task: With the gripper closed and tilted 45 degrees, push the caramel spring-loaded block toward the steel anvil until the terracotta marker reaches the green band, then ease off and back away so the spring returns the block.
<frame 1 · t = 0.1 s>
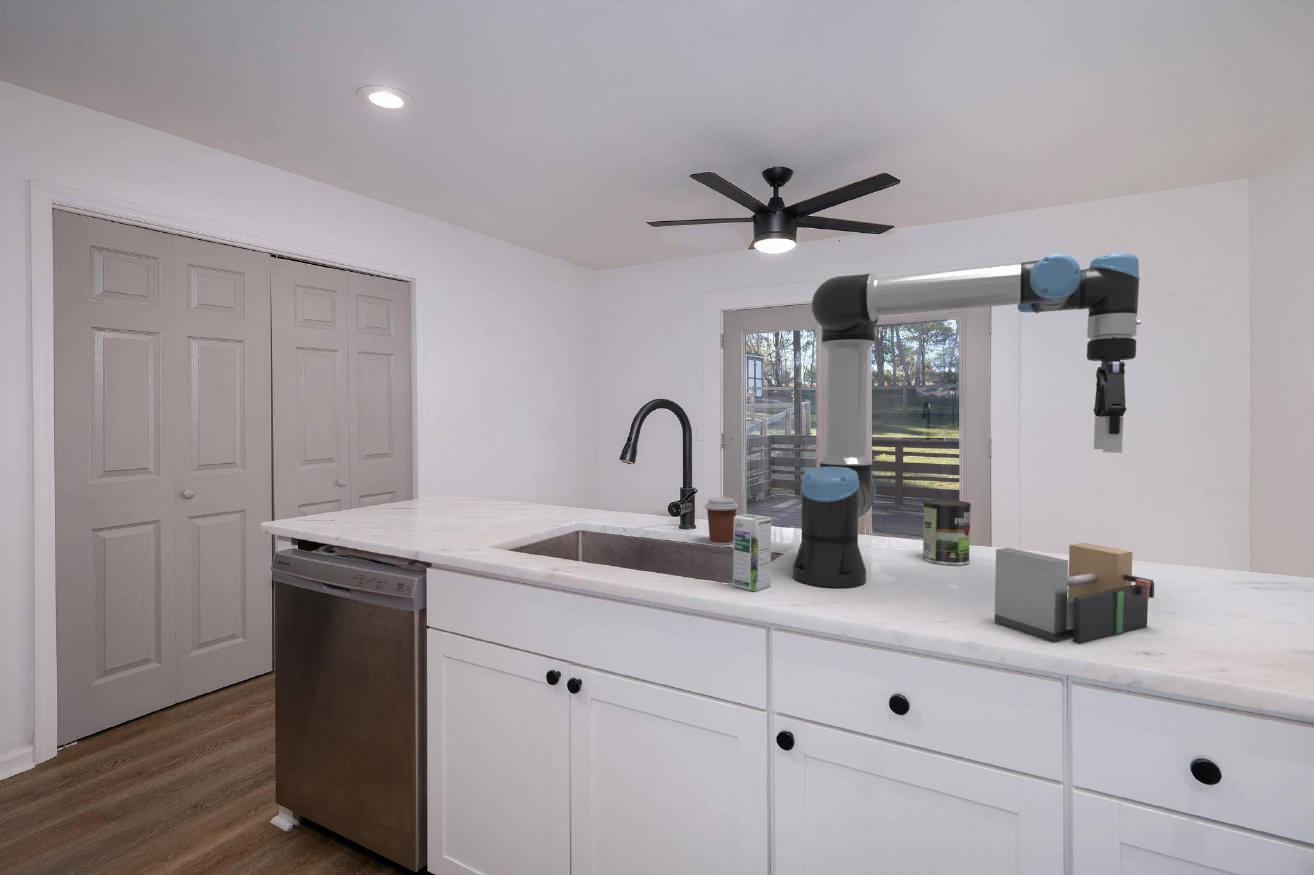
hand: (1106, 451, 118), 28 cm above the worktop, tool pointing down, fingers open, 13 cm apart
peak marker: (1142, 588, 101), point 7 cm above the worktop, slide at 0.0 cm
syrup box: (751, 587, 127), on the worktop
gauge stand: (1065, 622, 105), on the worktop
coffee can: (945, 561, 149), on the worktop
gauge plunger: (1101, 581, 105), point 7 cm above the worktop, slide at 0.0 cm
coffee cup: (721, 543, 170), on the worktop
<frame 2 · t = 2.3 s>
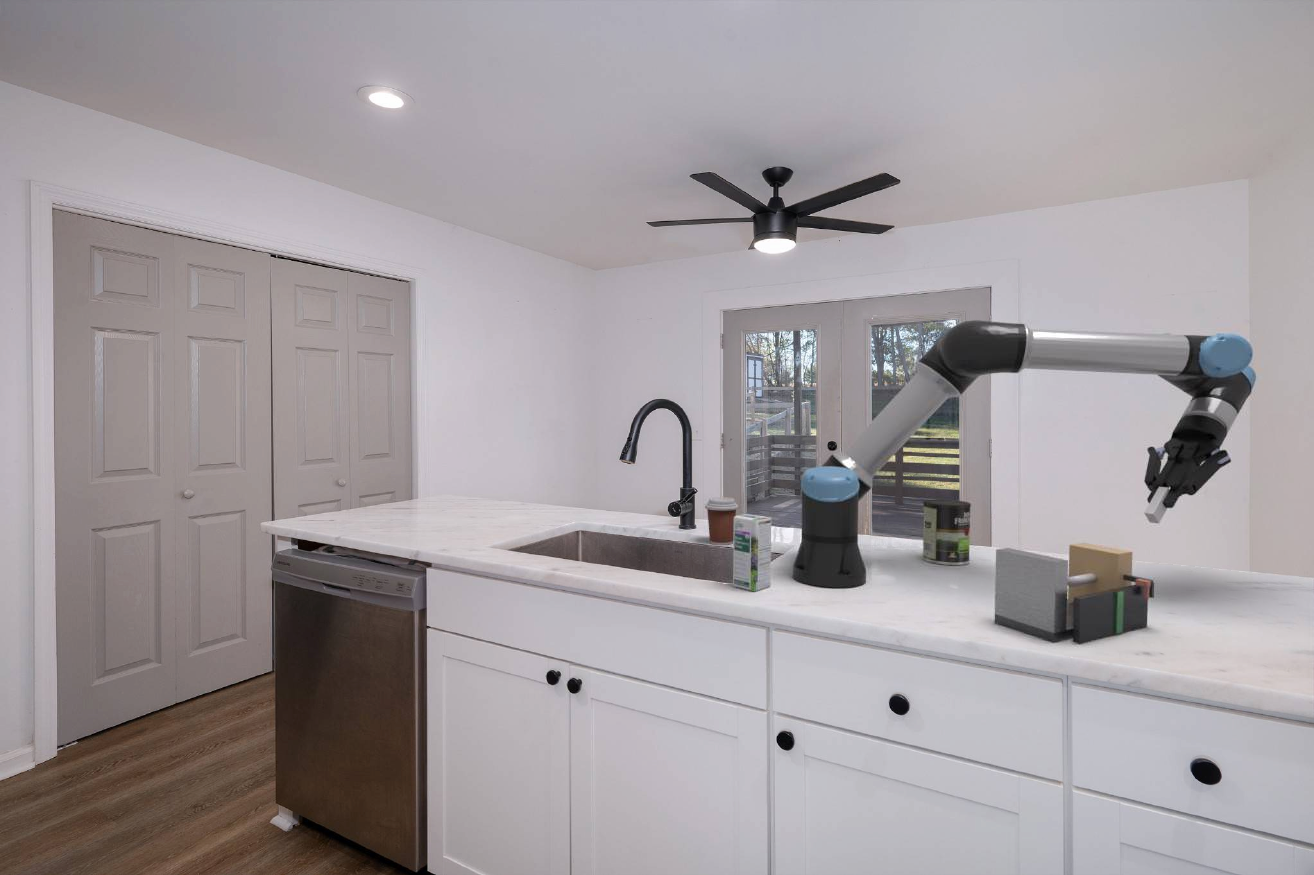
hand: (1151, 518, 114), 16 cm above the worktop, tool tilted 45°, fingers closed
nothing on the worktop moved.
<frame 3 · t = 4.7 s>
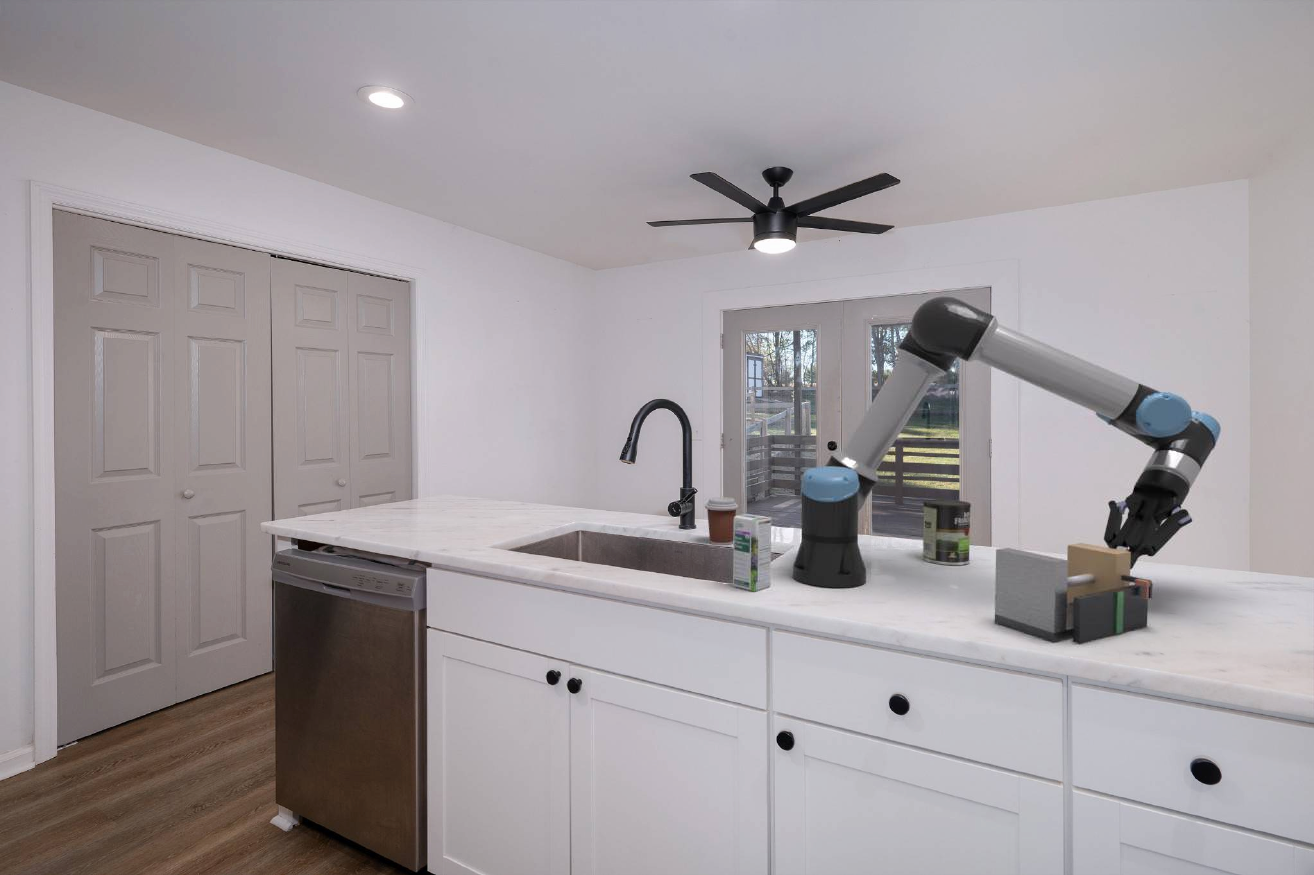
hand: (1109, 579, 109), 6 cm above the worktop, tool tilted 45°, fingers closed
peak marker: (1142, 589, 101), point 7 cm above the worktop, slide at 0.2 cm, touching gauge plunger
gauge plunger: (1100, 582, 105), point 7 cm above the worktop, slide at 0.5 cm, touching gripper, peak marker
everything else where it was.
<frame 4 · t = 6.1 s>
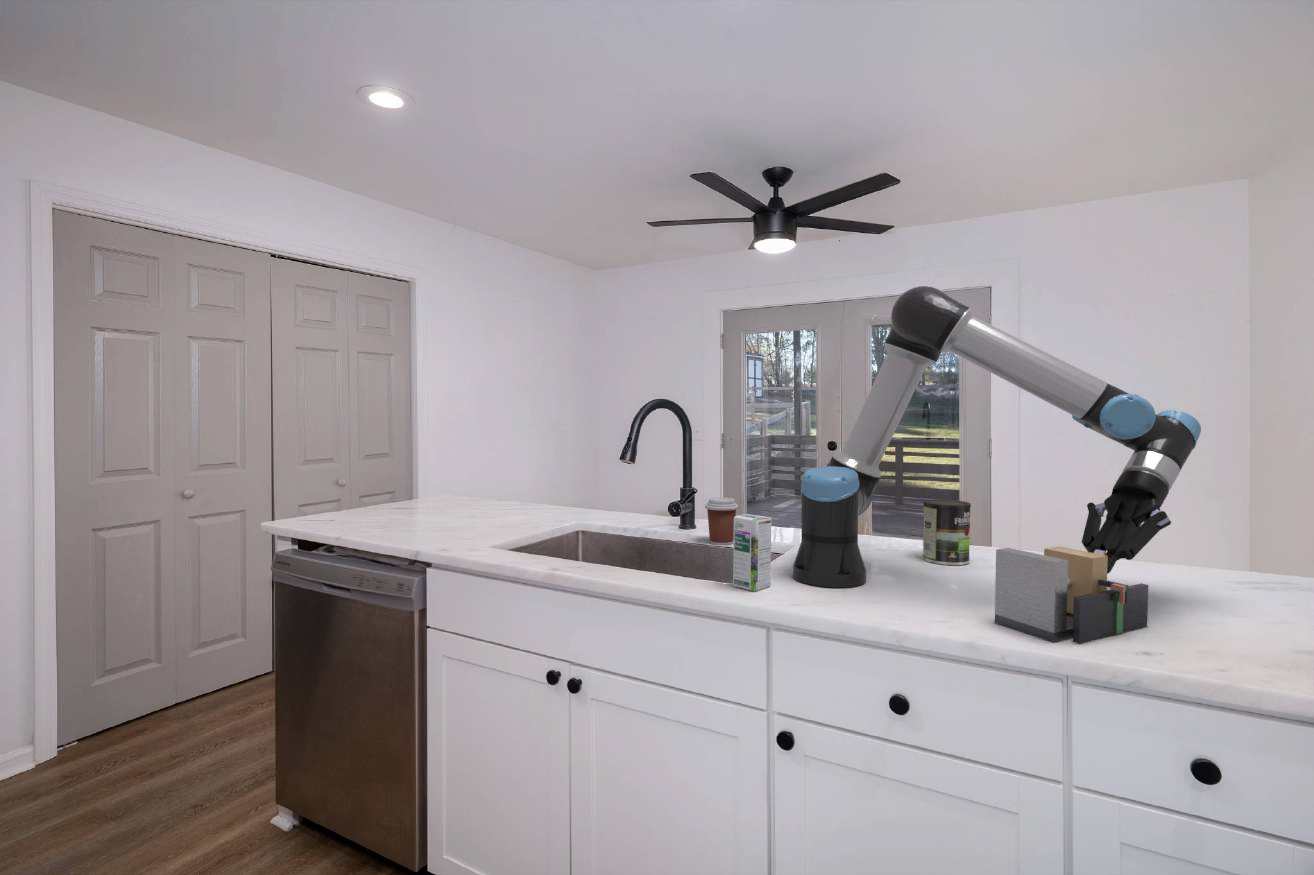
hand: (1086, 584, 107), 6 cm above the worktop, tool tilted 45°, fingers closed
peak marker: (1118, 594, 98), point 7 cm above the worktop, slide at 6.7 cm, touching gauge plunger
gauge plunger: (1076, 586, 102), point 7 cm above the worktop, slide at 7.0 cm, touching gripper, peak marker
everything else where it was.
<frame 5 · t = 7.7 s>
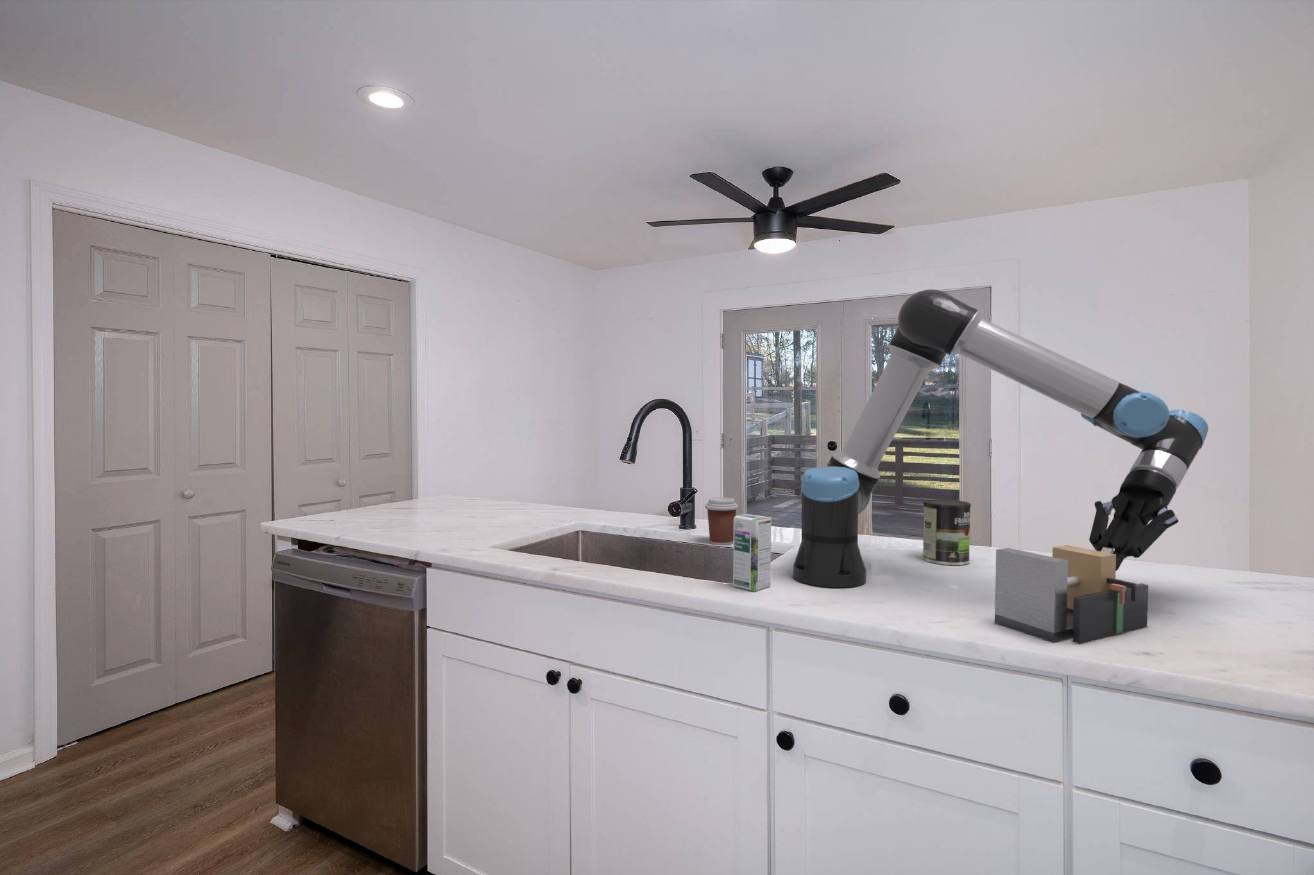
hand: (1094, 581, 108), 6 cm above the worktop, tool tilted 45°, fingers closed
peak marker: (1118, 594, 98), point 7 cm above the worktop, slide at 6.8 cm
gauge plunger: (1084, 584, 103), point 7 cm above the worktop, slide at 4.7 cm, touching gripper
everything else where it was.
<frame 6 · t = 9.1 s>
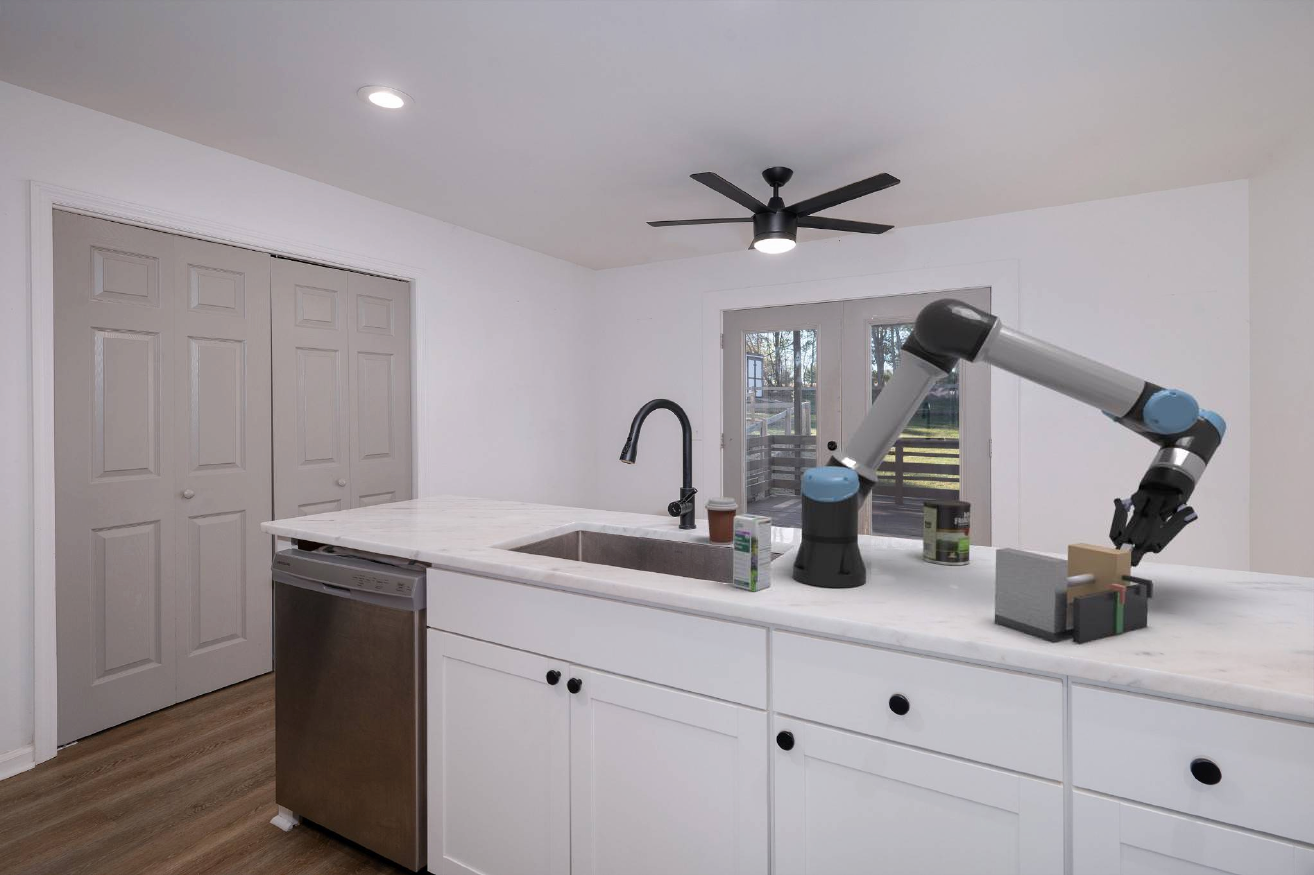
hand: (1114, 577, 110), 6 cm above the worktop, tool tilted 45°, fingers closed
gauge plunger: (1100, 581, 105), point 7 cm above the worktop, slide at 0.4 cm
everything else where it was.
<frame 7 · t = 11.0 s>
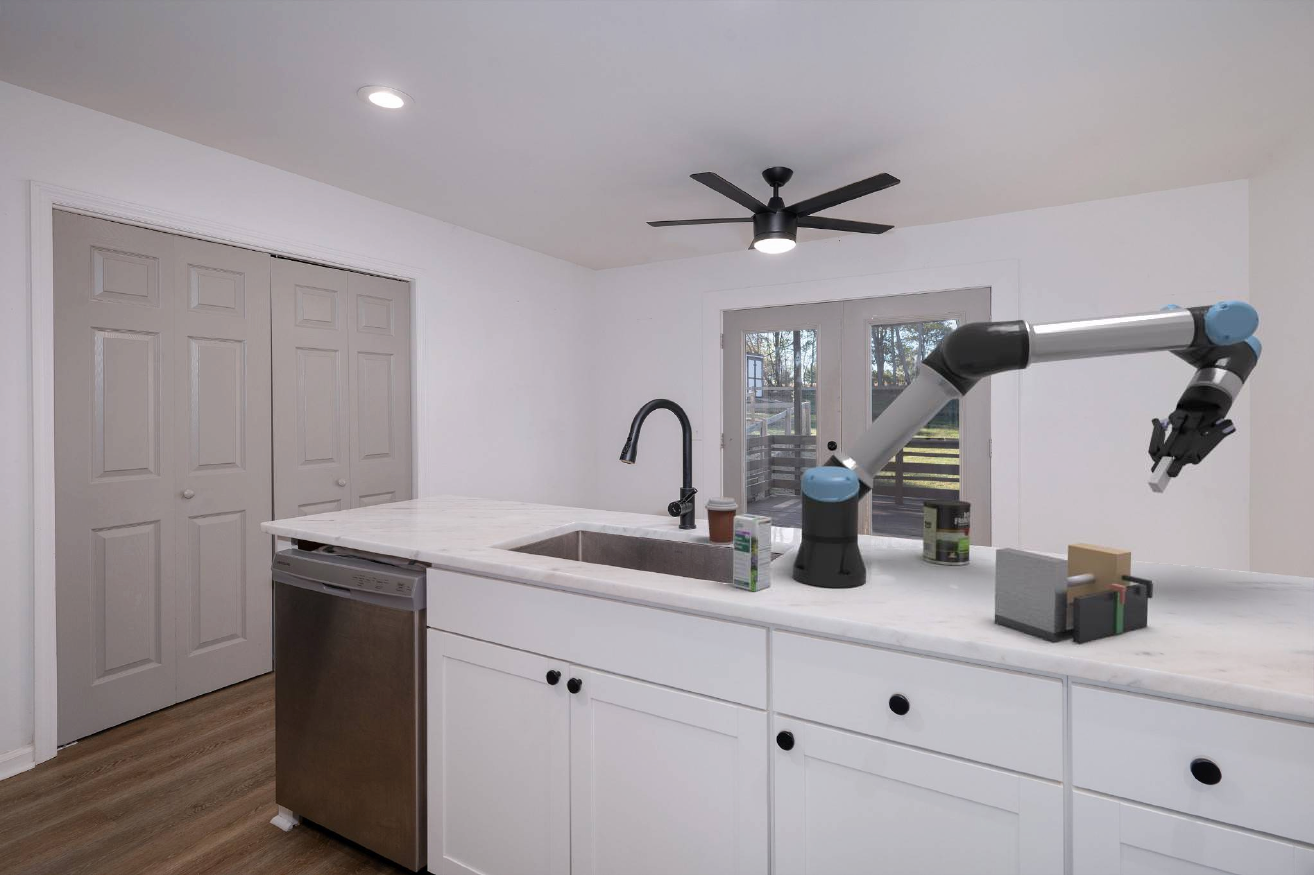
hand: (1155, 487, 114), 22 cm above the worktop, tool tilted 45°, fingers closed
nothing on the worktop moved.
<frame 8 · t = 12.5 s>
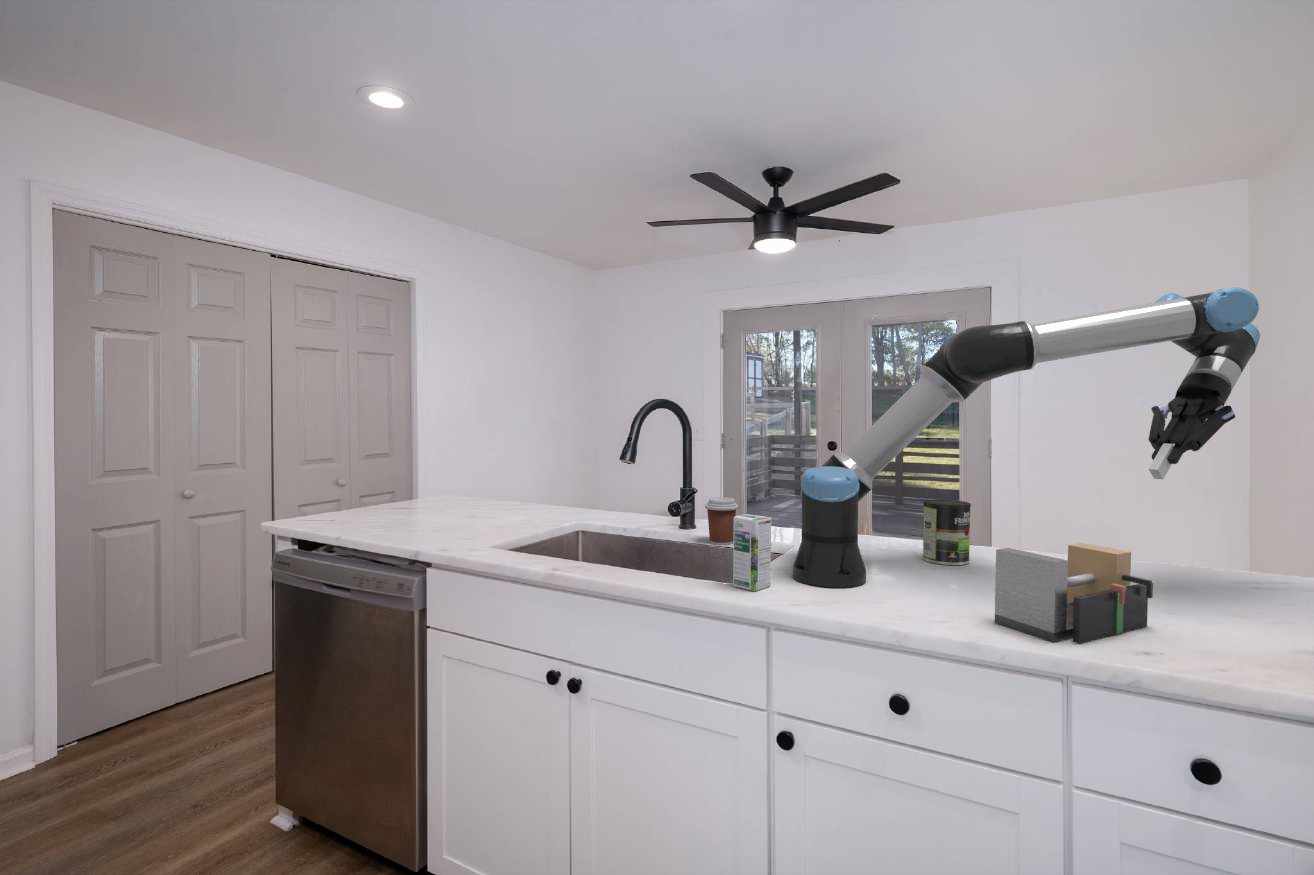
hand: (1155, 474, 115), 24 cm above the worktop, tool tilted 45°, fingers closed
nothing on the worktop moved.
at the end: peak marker slide at 6.8 cm; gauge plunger slide at 0.4 cm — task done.
